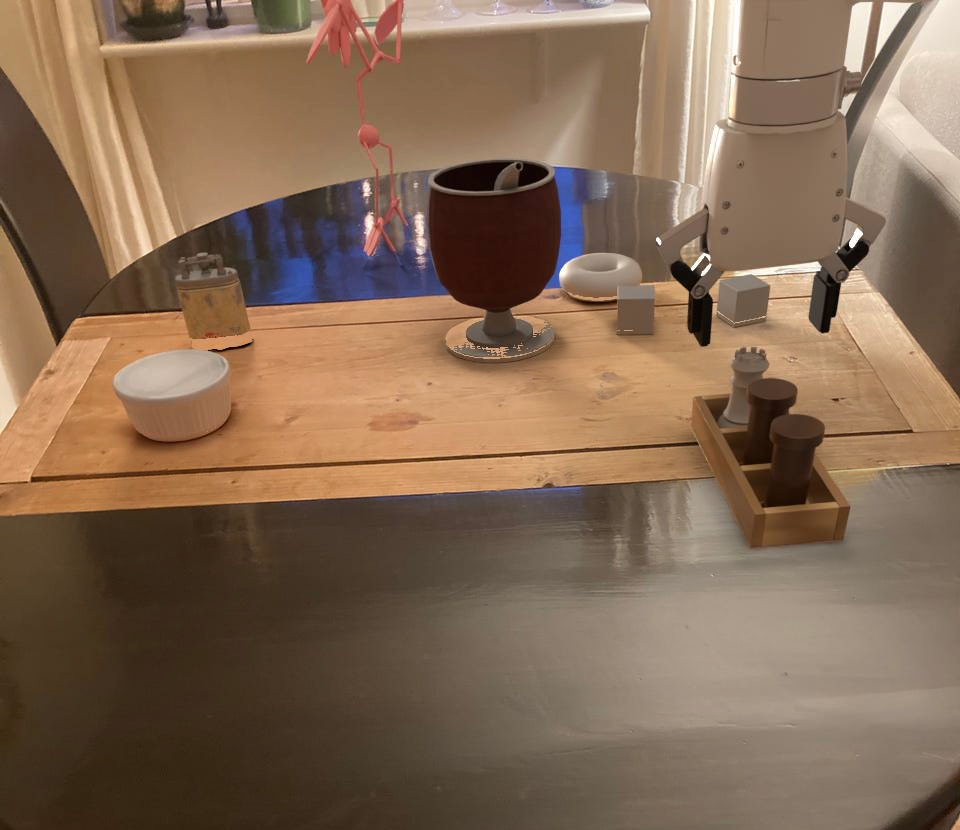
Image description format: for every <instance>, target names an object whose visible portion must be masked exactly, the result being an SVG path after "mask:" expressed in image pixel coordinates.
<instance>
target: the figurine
mask: <svg viewBox="0 0 960 830" xmlns="http://www.w3.org/2000/svg"><path fill="white" fill-rule="evenodd" d="M320 3H321V7H322V9H323V13H324V20H323V22H322V24H321V25H320V27H319V30H318V31H317V33H316V35H315V37H314V39H313V42H312V45H311V46H310V49H309V53H308V56H307V59H306V64H305V65H307V66H310V64H311V63H312V61H313V59H314V57H315V56H316V54H317V53H318V51H319V50H320V48H321V47H322V45H323V43H324V41H325V40H326V38H327V48H328V49H327V50H328V52H329V54H330V55H331V56H333V55H335V54H337V52H338V51H340V59H341V63H342V65H343V67H344V68H345V69H347V68H348V67H349V66H350V59H351V49H352V48H351V46H352V45H351V38H352V40H353V42H354V44H355V47H356V48H357V50H358V53H359V55H360V57H361V59H362V61H363V64H364V65H365V68H364V69H363V71H361V72H360V73H359V74H358V75H357V76H356V77H357V79H356V80H355V82H356V83H355V84H356V89H357V96H358V102H359V112H360V116H361V124H362V126H361V127H360V128H359V130H358V132H357V139H358V142H359V145H361V146H362V147H363V148H364V149H365V151H366V153H367V155H368V157H369V159H370V161H371V163H372V166H373V167H374V169H375V172H374V173H375V176H374V178H375V179H374V181H375V182H374V183H375V185H374V186H375V191H374V192H375V193H374V194H375V195H374V196H375V197H374V198H375V199H374V200H375V201H374V203H375V204H374V205H375V206H374V207H375V209H374V210H375V221H374V223H373V225H372V226H371V229H370V230H369V233H368V234H367V238H366V242H365V244H364V246H363V247H364V248H363V252H364V251H365V252H366V253H367V255H368V256H371V257H372V256H373V254H374V253H375V251H376V249H377V247H378V245H379V242H380V239H381V237H382V238H383V239H384V241H385V243H386V245H387V246H388V248H389V249H390V251H391V252H392V251H396V252H397V250H396V248H395V247H394V245H393V243H392V241H391V240H390V238H389V236H388V234H387V232H386V230H385V231H384V230H383V227H384V226H385V225H386V224H387V223H388V222H389V221H390V220H391V221H392V220H393V217H394V215H395V213H397V216H398V217H399V219H400V220H401V222H402V224H403V226H404V227H405V226H408V225H409V223H408V222H407V220H406V218H405V216H404V214H403V212H402V210H401V209H400V207H399V205H400V202H401V198H400V197H398V196H397V197H396V199H395V190H394V188H395V187H394V166H393V149H392V146H390V145H389V144H386V143H384V142H382V141H380V135H379V131H378V130H377V128H376V127H375V126H373V125H371V124H366V119H365V108H364V97H363V89H362V80H363V79H364V78H365V76H367V74H368V73H369V74H371V73H372V72H373V70H374V69H375V66H376V64H378V63H379V62H381V63H382V62H383V61H384V60H385V61H387V62H390V63H393V64H395V65H398V66H399V65H400V64H401V57H402V56H401V54H402V52H401V50H402V19H403V13H404V6H405V3H404V0H393V1H392V2H391V3H390V4H388V6H387V7H386V8H385V10H384V11H383V12H382V13H381V15H380V16H379V19H378V20H377V22H376V24H375V28H374V33H373V34H374V39H375V42H374V40H373V38H372V36H371V35H370V33H369V31H368V30H367V28H366V27H365V24H364V22H363V21H362V19H361V17H360V16H359V14H358V13H357V10H356V9H355V7H354V4H353V3H352V0H320ZM358 26H359V28H360V29H361V31H362V33H363V34H364V36H365V38H366V39H367V41H368V43H369V45H370V46H371V48H372V50H373V51H374V53H375V55H374V56H373V58H372V61H371V62H370V61H369V59H368V57H367V55H366V52H365V50H364V49H363V46H362V45H361V43H360V40H359V38H358V36H357V34H356V33H357V31H358V30H357V29H358ZM395 28H396V50H395V51H396V53H395V57H393V56H390V55H387V54H386V53H384V52H383V51H381V50H379V48H378V47H377V46H380V45H381V43H383V41H385V40H386V38H388V37H389V35H390V34H391V33H392V32H393V31H394V29H395ZM376 44H377V45H376ZM377 145H379V146H382V147H384V148H387V149H388V157H389V174H390V176H389V177H390V192H391V193H390V195H391V202H390V204H389V205H390V207H389V209H388V210H387V212H386V213H385V216H384V217H382V216H379V168H378V166H377V164H376V162H375V159H374V157H373V155H372V153H371V150H370V149H373V148H375V147H376V146H377ZM391 221H390V222H391ZM381 234H382V236H381ZM380 236H381V237H380Z"/></svg>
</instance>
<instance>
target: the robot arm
mask: <svg viewBox="0 0 960 830" xmlns="http://www.w3.org/2000/svg"><path fill="white" fill-rule="evenodd" d="M929 1H931V0H735V7H734V9H735V10H734V21H733V23H734V24H733V38H732V54H731V65H730V67H731V68H730V79H729V80H730V81H729V92H728V93H729V94H728V109H727V118H723V119H720V120H717V121H716V122H715V126H714V129H713V132H712V137H711V141H710V145H709V149H708V155H707V161H706V166H705V172H704V178H703V179H704V180H703V184H702V185H703V186H702V194H701V198H700V199H701V200H700V208H699V210H698V211H696V212H695V213H694V214H692V215H691V216H689V217H688V218H686V219H685V220H683V221H681V222H680V223H679V224H677V225H675V226H674V227H672V228H670V229H669V230H667V231H666V232H664V233H663V234H661V235H660V236H658V237H657V238H656V241H655V245H656V247H657V249H658V251H659V254H660V255H661V257H662V259H663V261H664V263H665V265H666V268H667V270H668V271H669V273H670V274H671V276H672V278H673V279H675V281H677V282H678V283H679V284H680V285H681V286H682V287H683V288H684V290H686V291H687V292H688V300H687V319H686V320H687V321H686V326H687V331H688V333H689V334H693V336H694V338H695V340H696V341H697V343H698V345H699V346H700V348H705V347H708V346H709V345H710V344H711V339H712V337H711V336H712V323H713V308H714V299H713V297H712V295H711V293H710V290H711V289H712V288H713V287H714V286H715V284H716V283H717V282H718V281H719V280H720V278H721V277H722V276H723V274H725V272H743V271H752V270H761V269H770V268H780V267H788V266H796V265H803V264H811V263H816V262H817V263H818V265H820V270H816V272H815V274H814V275H813V282H812V286H811V294H810V301H809V302H810V303H809V310H808V321H809V322H810V323H811V325H812V326H813V328H815V330H817V332H818V333H820V334H829V333H830V329H831V323H832V319H835V318H836V317H837V313H838V307H839V301H840V300H839V299H840V294H841V287H842V283H845V282H846V281H847V280H848V279H849V277H850V273H851V271H852V270H853V269H854V268H855V267H857V265H859V264H860V263H861V262H862V261H863V260H864V259H865V258H866V257H867V256H868V255H869V252H870V248H871V246H872V245H873V244H874V243H875V241H876V239H877V238H878V236H879V235H880V233H881V231H883V229H884V227H885V225H886V221H887V219H886V217H885V216H883V215H882V214H881V213H880V212H878V211H876V210H874V209H872V208H871V207H868V206H866V205H864V204H861V203H859V202H857V201H855V200H853V199H851V198H849V197H847V186H848V185H847V184H848V181H847V180H848V134H847V133H848V131H847V119H846V116H845V114H843V113H842V111H840V110H841V109H842V105H843V101H844V98H846V97H848V96H849V95H853V94H858V93H859V92H860V91H861V88H862V84H863V83H862V82H863V81H862V80H863V78H862V77H863V76H862V73H861V71H852V72H851V71H850V70H848V68H847V66H846V65H845V62H846V55H847V48H848V47H847V46H848V40H849V32H850V26H851V19H852V10H853V7H854V6H855V5H857V4H859V3H899V4H919V3H924V2H929ZM845 220H847V221H849V222H852V223H854V224H855V225H857V228H856V230H855V231H854V235H853V236H852V237H851V238H849V239H848V240H847V241H846V242H845V243H844V244H843V245H842V246H841V247H840V244H841V240H842V234H843V228H844V221H845ZM696 239H697V246H698V249H699V251H700V252H701V253H702V254H701V256H700V257H699V258H698V259H697V261H696V262H695V263H694V265H693V266H692V267H690V266H689V264H687V263H686V262H685V261H684V260H683V258H682V255H681V250H682V248H683V247H684V246H686V245H688V244H689V243H691V242H692V241H695V240H696ZM839 247H840V248H839Z"/></svg>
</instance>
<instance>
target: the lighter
mask: <svg viewBox="0 0 960 830" xmlns="http://www.w3.org/2000/svg"><path fill="white" fill-rule="evenodd" d="M211 264H215V265H216V268H210V265H211ZM177 265H178V269H179V270H180V274H178V275H176V276H175V278H174V281H175V285H176V292H177V295H178V299H179V303H180V306H181V311H182V315H183V318H184V322H185V325H186V329H187V334H188V338H189V339H190V338H192V339H206V338H218V337H226V336H235V335H237V336H238V335H242V334H244V333H246V332H248V330H249V329H251V325H250V321H249V316H248V311H247V308H246V302H245V298H244V294H243V289H242V285H241V280H240V279H239V274H238V270H237V269H235V268H233V267H225V265H224V259H223V257H222V255H221V254H218V253H216V254H208V252H200V253H197V254H196V256H191V257H187V258H186V257H184V256H182V257H180V258H179V259H178V261H177ZM192 265H193V266H194V265H198V266H199V267H201V270H195V271H193V270H192V271H190V269H189V266H192Z"/></svg>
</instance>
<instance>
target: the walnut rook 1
mask: <svg viewBox="0 0 960 830" xmlns="http://www.w3.org/2000/svg"><path fill="white" fill-rule="evenodd" d="M798 391H799V389H798V386H796V384H795V383H793V382H792V381H790V380H786V379H782V378H776V377H766V378H764V377H763V379H758V380H755V381H753V382H751V383H750V384H749V385H748V387H747V395H746V401H747V402H748V404H750V413H749V420H748V428H747V436H746V444H745V452H744V459H743V463H742V464H740V465H739V466H744V465H756V464H767V463H771V459H772V452H773V446H774V443H773V442H772V441H771V440H770V437H769V435H770V428H771V423H772V421H773V420H774V419H775V418H777V417H779V416H783V415H788V414H790V409H791V408H792V407H794V406H795V405H796V403H797V397H798Z"/></svg>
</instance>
